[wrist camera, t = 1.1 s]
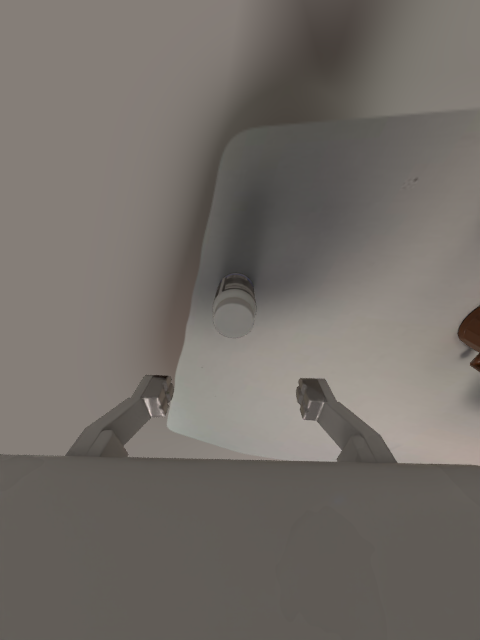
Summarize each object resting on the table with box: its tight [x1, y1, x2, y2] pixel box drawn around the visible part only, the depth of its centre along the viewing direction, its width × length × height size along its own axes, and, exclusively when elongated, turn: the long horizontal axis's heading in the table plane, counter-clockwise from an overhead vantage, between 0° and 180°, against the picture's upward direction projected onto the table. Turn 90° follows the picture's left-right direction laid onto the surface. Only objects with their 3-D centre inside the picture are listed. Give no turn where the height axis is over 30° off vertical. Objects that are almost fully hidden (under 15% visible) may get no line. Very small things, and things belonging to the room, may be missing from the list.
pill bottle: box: [213, 273, 256, 338], centre depth 21 cm, size 5×5×8 cm
